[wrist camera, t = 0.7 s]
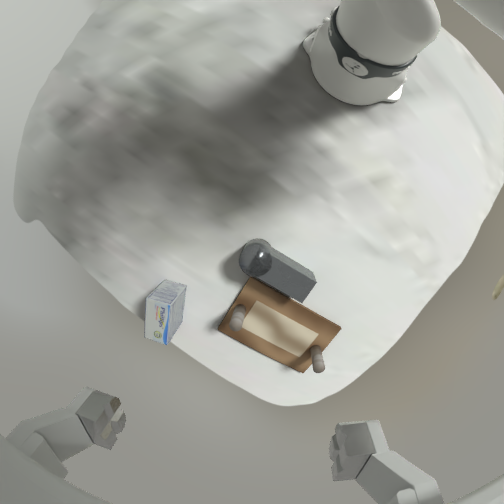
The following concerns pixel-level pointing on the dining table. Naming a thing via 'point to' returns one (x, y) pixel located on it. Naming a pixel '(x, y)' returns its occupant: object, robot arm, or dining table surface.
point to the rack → (279, 327)
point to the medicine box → (164, 311)
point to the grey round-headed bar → (276, 269)
